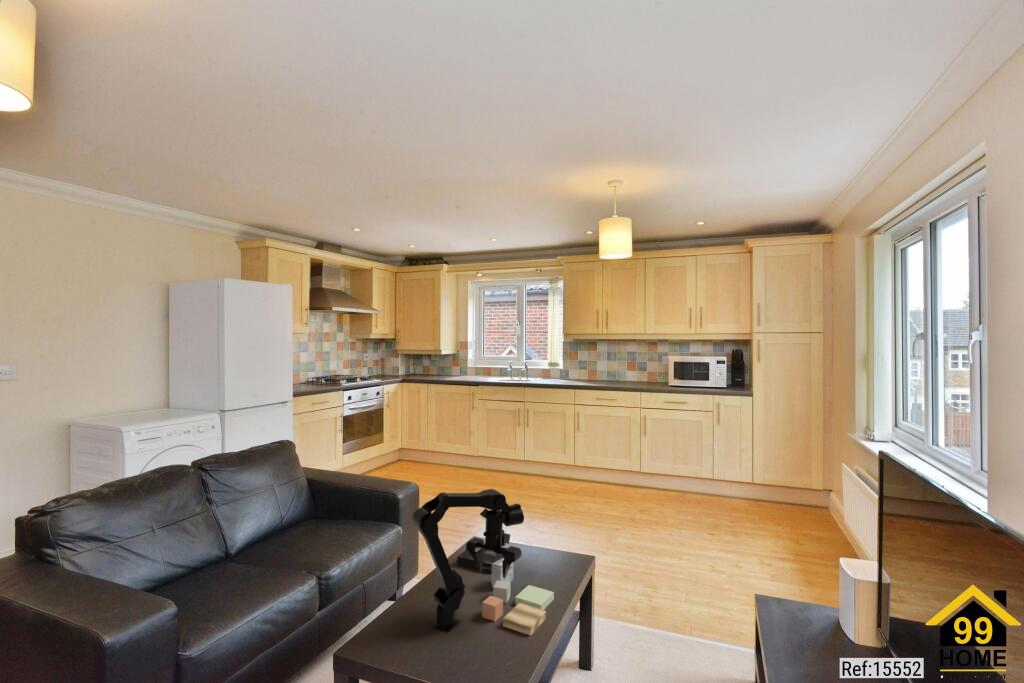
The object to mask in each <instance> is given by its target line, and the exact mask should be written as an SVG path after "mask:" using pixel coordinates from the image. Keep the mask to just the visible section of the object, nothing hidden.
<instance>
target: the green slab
mask: <svg viewBox="0 0 1024 683" xmlns="http://www.w3.org/2000/svg"><path fill="white" fill-rule="evenodd" d="M554 598H555V591H551V590H547V589H544V588H540V587H538V586H534V585H530V584H528V585H527V586H525V588H524V589H522V591H520V592H519V593H518V594H517V595H516V596H515V598H514V599H515V600H514V601H515V602H514V604H515V606H517V605H518V604H519V603H522V604H525V605H528V606H532V607H535V608H538V609H541V610H546V608H547V607H548V606H549V605H550V604H551V602H553V601H554Z"/></svg>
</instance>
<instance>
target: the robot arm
mask: <svg viewBox="0 0 1024 683" xmlns="http://www.w3.org/2000/svg"><path fill="white" fill-rule="evenodd" d="M470 507H471V508H484V509H483V510H482V511H481V512H480V513H479V515H480V516H481V517H483V518H484V519H485V529H484V531H483V537H484V539H483V538H481V537H480V538H479V537H473V538H471V539H470V540H468V541H467V542H466V544H465V550H466V551H469V554H471V555H472V557H473V559H474V561H475V563H476V565H477V567H478V569H479V570H478V571H479V572H480V573H481V572H483V571H482V567H483V551H484V550H487V551H491V552H495V553H499V554H503V558H504V560H503V561H502V563H503V578H506V575H507V573H508V570H509V568H510V565H511V563H512V562H514V563H515V562H516V561H517V560H519V559H520V558H521V557H522V550H521V547H518V546H517V547H516V546H513V545H510V546H508V547H505V546H506V544H507V545H509V544H510V540H511V539H510V538H511V534H510V533H506V532H505V530H504V529H503V526H505V527H511V526H516V525H521V524H523V523H524V520H525V515H524V511H523V509H522V505H521V504H520V503H518V502H517V503H514V504H510V505H509V504H508V502H507V498H506V496H505V494H504V493H502V492H500V491H498V490H496V489H495V488H489V489H485V490H481V491H480V492H445V491H443V492H439V493H438V494H437V495H436V496H435V497H434V498H432V499H431V500H428V501H427V502H425V503H423V505H422V506H421V507H419V508H417V509H416V510H415V511H414V512H413V514H412V516H411V519H412V523H413V524H414V526H415V528H416V529H417V531H419V533H420V534H421V536H422V537H423V538H424V541H425V543H426V546H427V548H428V551H429V553H430V555H431V559H432V561H433V563H434V566H435V568H436V570H437V573H438V584H439V587H438V588H437V590H436V591H435V593H433V599H434V600H433V601H434V602H436V604H437V607H436V621H435V622H433V623H432V627H434V628H437V629H439V630H442V631H445V632H450V631H452V629H454V628H455V627H456V626H457V625H458V624H460V623H461V621H460V619H457V610H459V609H460V606H461V604H462V600H463V598H464V596H465V595H466V594H465V593H466V591H465V588H467V587H466V585H465V584H464V582H463V578H462V576H461V575H460V573H458V572H457V571H456V570H455V569H452V567H451V564H450V561H449V559H448V556H447V554H446V552H445V549H444V547H443V544H442V542H441V539H440V537H439V523H440V521H442V519H443V517H444V516H445V514H446V513H447V511H448V510H449V509H450V508H470ZM484 543H485V544H484ZM502 547H504V548H502ZM505 548H507V549H505Z"/></svg>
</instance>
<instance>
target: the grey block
mask: <svg viewBox="0 0 1024 683" xmlns="http://www.w3.org/2000/svg"><path fill="white" fill-rule="evenodd" d="M511 584H512V583H511V582H505V581H498V580H497V581H496V583H495V585H494V586H492V596H493V597H497V598H500V599H503V604H507V603H508V602H509V599H510V597H511V588H512V587H511V586H512V585H511Z"/></svg>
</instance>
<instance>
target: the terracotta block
mask: <svg viewBox="0 0 1024 683" xmlns="http://www.w3.org/2000/svg"><path fill="white" fill-rule="evenodd" d="M481 604H482V606H481V607H482V610H481V617H482V618H484V619H487V620H490V621H492V622H496V621H498V619H500V618H501V617H502V616H503V615H504V603H503V599H500V598H497V597H493V595H489V596H488V597H487V598H485V599H484V600H483V601H482V602H481Z"/></svg>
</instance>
